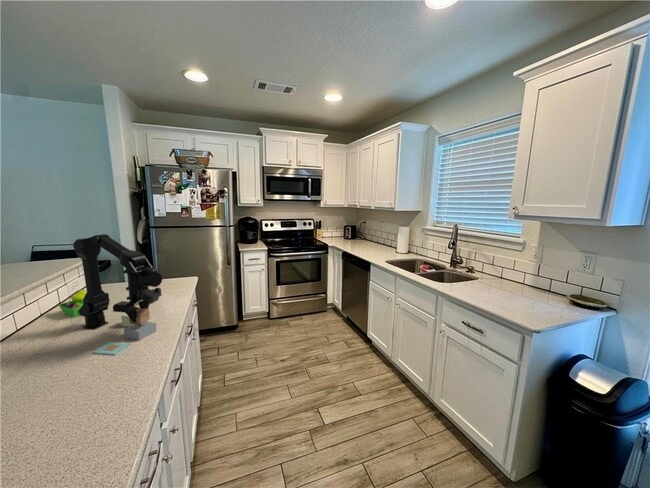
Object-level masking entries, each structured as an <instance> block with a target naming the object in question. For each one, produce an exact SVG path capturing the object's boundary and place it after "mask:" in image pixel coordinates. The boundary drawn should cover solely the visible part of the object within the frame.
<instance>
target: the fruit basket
mask: <svg viewBox="0 0 650 488" xmlns="http://www.w3.org/2000/svg"><path fill="white" fill-rule="evenodd" d="M86 293H87V291H85V289H79V290H77V291H76V293H74V294H72V295H71V297H70V298H71V300H69V301H68V302H63V303H60V304H58V307H59V308H60V309H61V311H62V313H63V314H64V315H65V316H69V317H72V318H76V317H79V316H80V315H79V312H78V311H79V309H80V308H81V307H82V306H83V298H84V296H85V295H86ZM80 317H81V316H80Z"/></svg>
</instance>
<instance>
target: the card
mask: <svg viewBox="0 0 650 488" xmlns="http://www.w3.org/2000/svg"><path fill="white" fill-rule="evenodd" d="M129 346H131V343H126V342H125V343H121V342H114V341H113V342H111V341H110V342H109V341H108V342H107V343H106V344H105V343H104V345H102V346H100V347H98V348H97V349H96V350H93V351H92V354H98V355H110V356H116V355H118V354H119V353H121V352H122V351H124V350H125V349H127V348H128V347H129Z"/></svg>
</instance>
